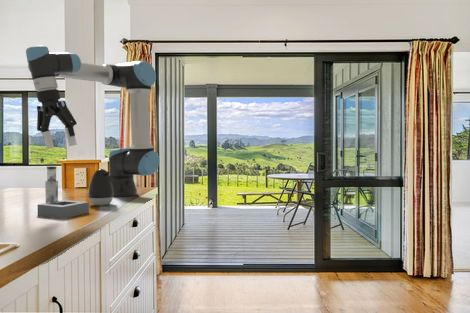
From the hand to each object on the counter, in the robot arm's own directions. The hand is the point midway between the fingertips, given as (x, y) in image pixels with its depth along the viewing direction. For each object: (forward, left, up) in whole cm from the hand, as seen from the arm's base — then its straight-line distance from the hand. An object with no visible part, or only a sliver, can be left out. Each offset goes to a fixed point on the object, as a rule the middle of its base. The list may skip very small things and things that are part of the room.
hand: (61, 146), depth 140 cm
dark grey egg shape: (-19, +2, -25) cm, 31 cm away
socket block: (+3, +5, -24) cm, 25 cm away
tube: (-3, -8, -24) cm, 26 cm away
